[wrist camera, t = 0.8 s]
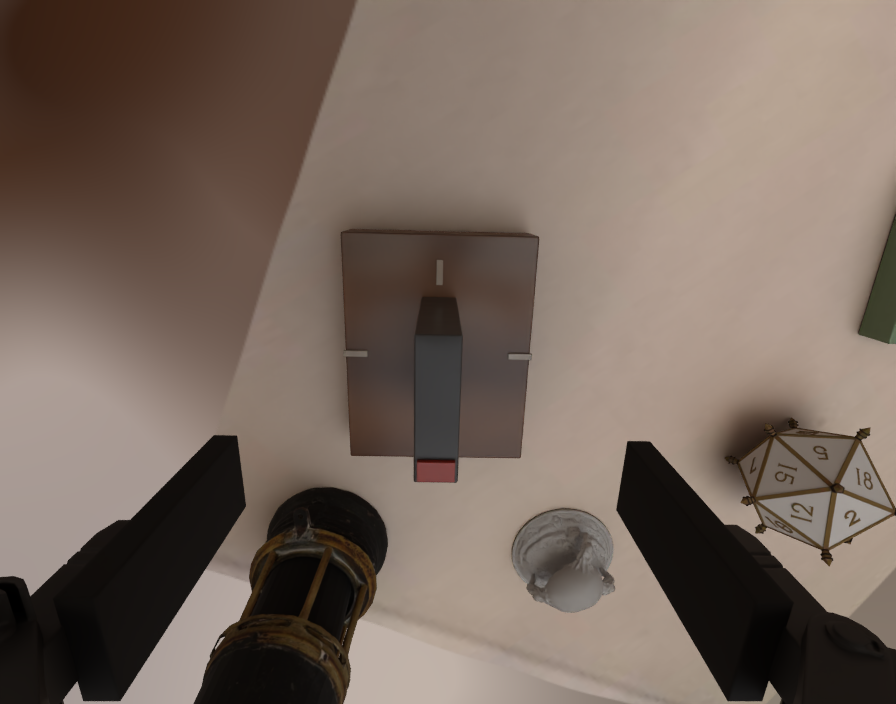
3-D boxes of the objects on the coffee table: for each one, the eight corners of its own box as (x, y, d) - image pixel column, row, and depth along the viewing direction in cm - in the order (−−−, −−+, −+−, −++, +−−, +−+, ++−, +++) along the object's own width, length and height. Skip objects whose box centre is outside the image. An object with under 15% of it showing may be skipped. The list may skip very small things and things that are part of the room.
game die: (758, 416, 36) (940, 460, 29) (726, 519, 36) (903, 593, 28) (722, 386, 31) (935, 430, 23) (682, 507, 30) (888, 594, 22)
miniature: (494, 535, 35) (502, 585, 30) (587, 492, 34) (610, 537, 29) (539, 606, 37) (553, 662, 33) (628, 567, 36) (655, 620, 32)
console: (348, 228, 28) (337, 231, 25) (531, 233, 28) (541, 236, 25) (357, 433, 32) (348, 457, 29) (515, 436, 32) (522, 460, 29)
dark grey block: (421, 296, 26) (413, 336, 18) (456, 297, 26) (463, 336, 18) (420, 408, 28) (413, 485, 21) (452, 408, 28) (457, 486, 21)
